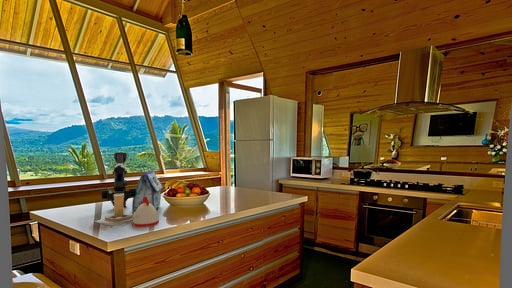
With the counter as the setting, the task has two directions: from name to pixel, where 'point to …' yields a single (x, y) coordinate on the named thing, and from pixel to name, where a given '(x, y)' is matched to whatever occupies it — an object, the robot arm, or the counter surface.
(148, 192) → the lunch bag
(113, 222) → the socket board
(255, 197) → the counter surface
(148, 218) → the kitchen timer
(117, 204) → the beige cylinder
